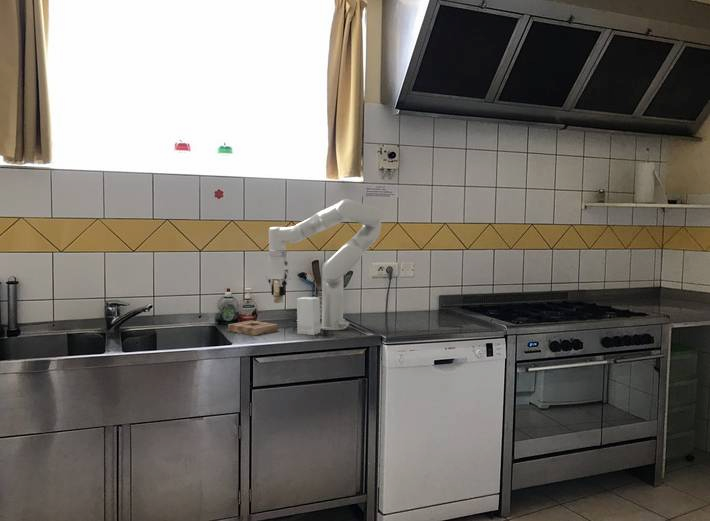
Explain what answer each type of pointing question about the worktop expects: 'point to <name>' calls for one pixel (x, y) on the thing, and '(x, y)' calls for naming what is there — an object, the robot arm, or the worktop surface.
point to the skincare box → (308, 315)
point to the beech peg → (277, 292)
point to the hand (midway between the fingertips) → (278, 294)
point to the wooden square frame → (252, 327)
